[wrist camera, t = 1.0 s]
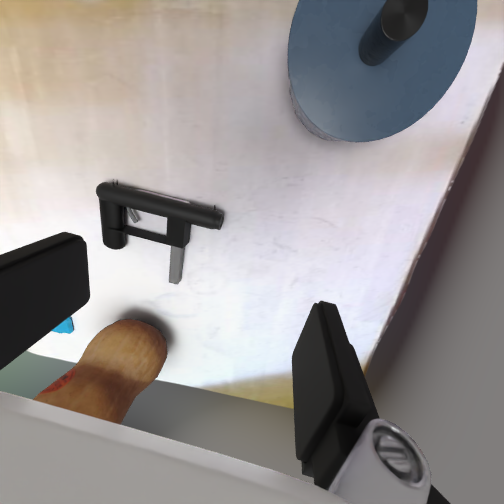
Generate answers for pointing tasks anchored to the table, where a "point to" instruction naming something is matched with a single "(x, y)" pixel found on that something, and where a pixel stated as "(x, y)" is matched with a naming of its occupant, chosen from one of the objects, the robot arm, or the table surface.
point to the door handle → (173, 209)
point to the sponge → (64, 327)
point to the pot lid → (375, 61)
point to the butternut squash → (110, 371)
